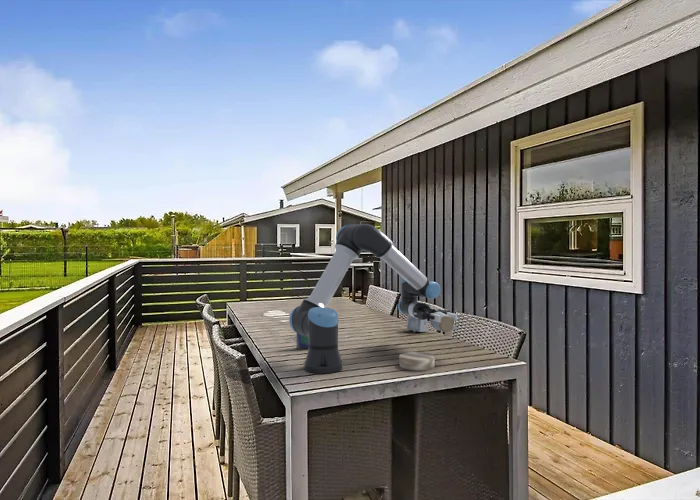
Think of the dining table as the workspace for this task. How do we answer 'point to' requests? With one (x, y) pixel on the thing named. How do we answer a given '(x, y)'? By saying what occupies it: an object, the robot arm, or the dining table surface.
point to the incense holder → (417, 324)
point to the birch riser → (416, 361)
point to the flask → (302, 342)
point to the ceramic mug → (443, 323)
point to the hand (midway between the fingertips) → (448, 318)
